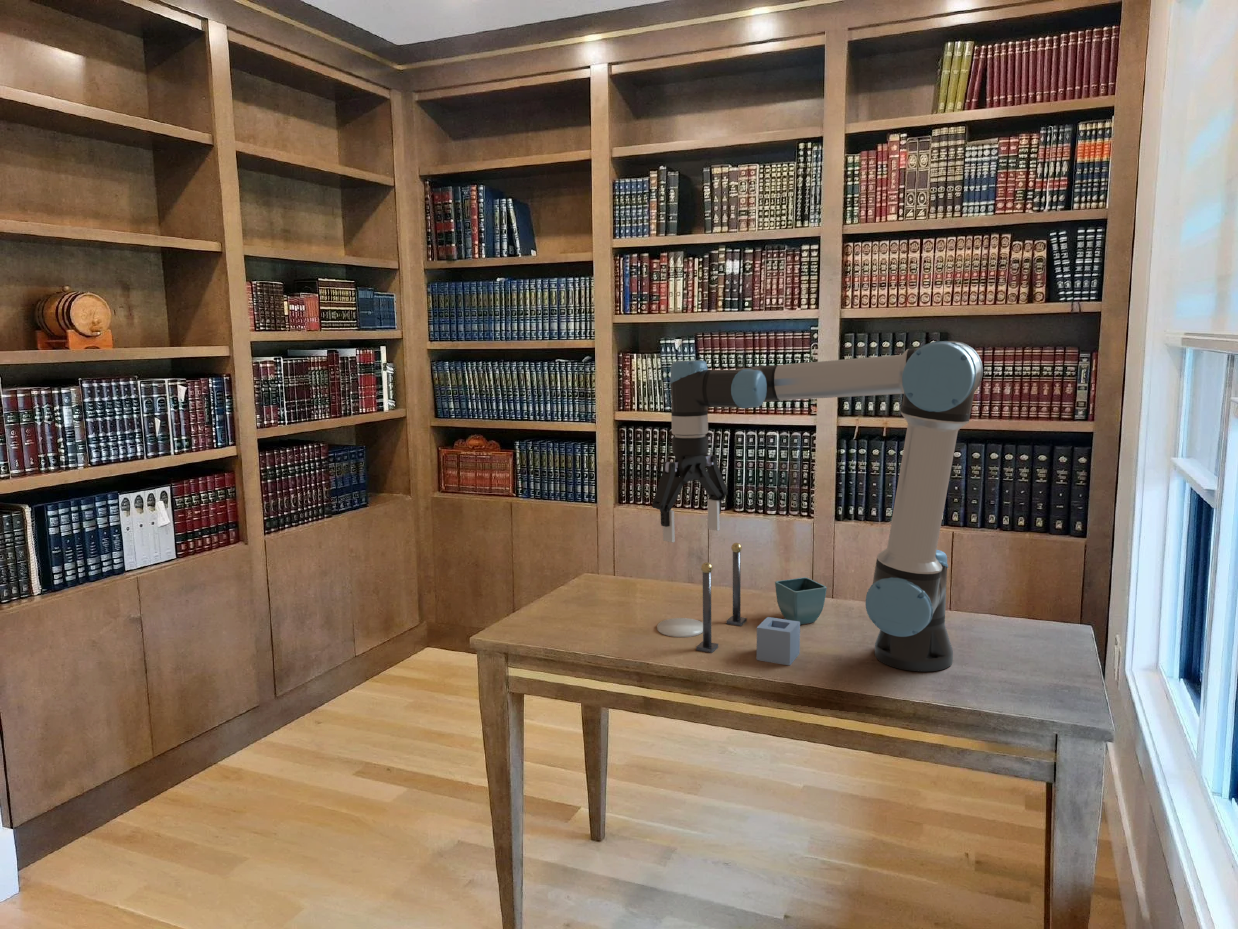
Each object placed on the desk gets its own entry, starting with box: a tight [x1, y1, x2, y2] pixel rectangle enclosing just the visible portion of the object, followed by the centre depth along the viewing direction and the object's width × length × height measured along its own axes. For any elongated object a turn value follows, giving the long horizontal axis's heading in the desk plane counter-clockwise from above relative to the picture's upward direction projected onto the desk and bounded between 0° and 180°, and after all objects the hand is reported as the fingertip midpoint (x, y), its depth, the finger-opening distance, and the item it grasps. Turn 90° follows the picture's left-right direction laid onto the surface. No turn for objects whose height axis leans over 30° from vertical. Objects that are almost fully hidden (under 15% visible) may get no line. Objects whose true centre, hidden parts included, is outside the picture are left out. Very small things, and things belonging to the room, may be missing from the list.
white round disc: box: [656, 617, 703, 638], centre depth 194 cm, size 11×11×1 cm
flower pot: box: [774, 576, 828, 626], centre depth 196 cm, size 9×9×9 cm
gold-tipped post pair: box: [695, 542, 748, 654], centre depth 188 cm, size 4×22×19 cm, turn 152°
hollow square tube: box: [756, 616, 801, 667], centre depth 175 cm, size 7×7×7 cm
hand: (691, 535), depth 179 cm, fingers open, 13 cm apart
